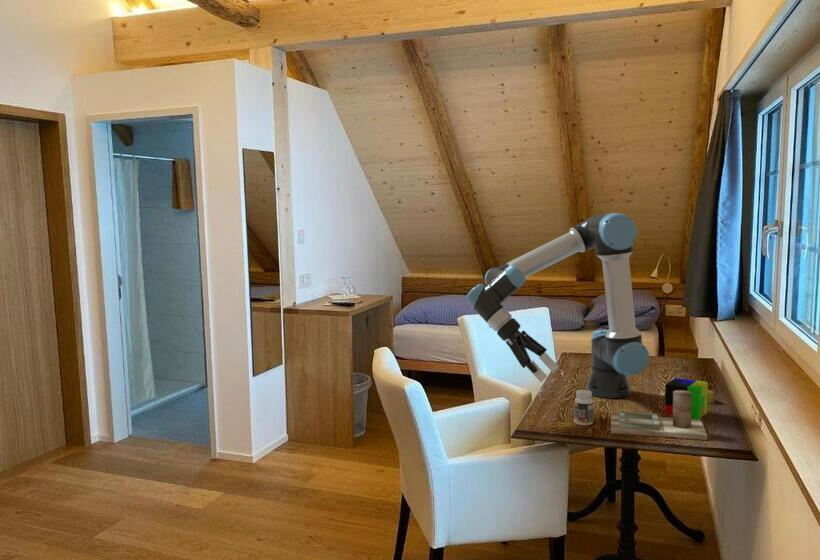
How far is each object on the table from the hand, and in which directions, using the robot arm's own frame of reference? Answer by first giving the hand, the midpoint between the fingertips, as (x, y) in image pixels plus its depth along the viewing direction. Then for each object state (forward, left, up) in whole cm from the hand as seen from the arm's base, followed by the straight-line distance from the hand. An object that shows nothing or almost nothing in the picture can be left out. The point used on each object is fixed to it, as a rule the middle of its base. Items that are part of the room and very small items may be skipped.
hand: (550, 374), depth 202 cm
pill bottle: (+2, +10, -15) cm, 18 cm away
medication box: (-35, +48, -15) cm, 61 cm away
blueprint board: (+3, +31, -14) cm, 34 cm away
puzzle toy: (-15, +41, -15) cm, 46 cm away
